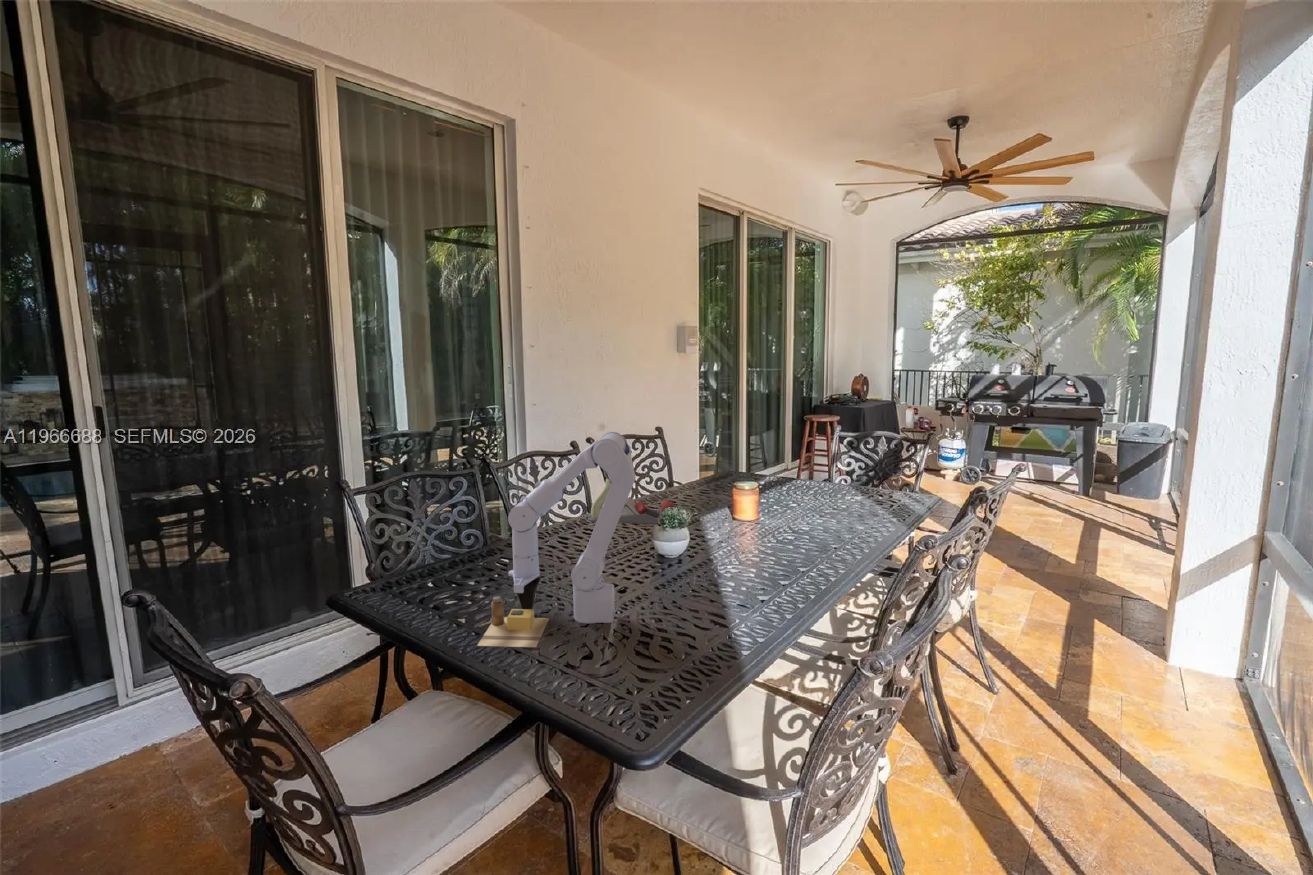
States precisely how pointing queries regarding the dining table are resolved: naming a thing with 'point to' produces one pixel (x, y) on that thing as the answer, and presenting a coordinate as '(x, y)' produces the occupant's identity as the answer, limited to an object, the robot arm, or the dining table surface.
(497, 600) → the brown gray-topped cylinder
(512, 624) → the stud finder
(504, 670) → the dining table surface
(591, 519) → the hand plane
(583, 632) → the dining table surface
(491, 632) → the plywood panel
